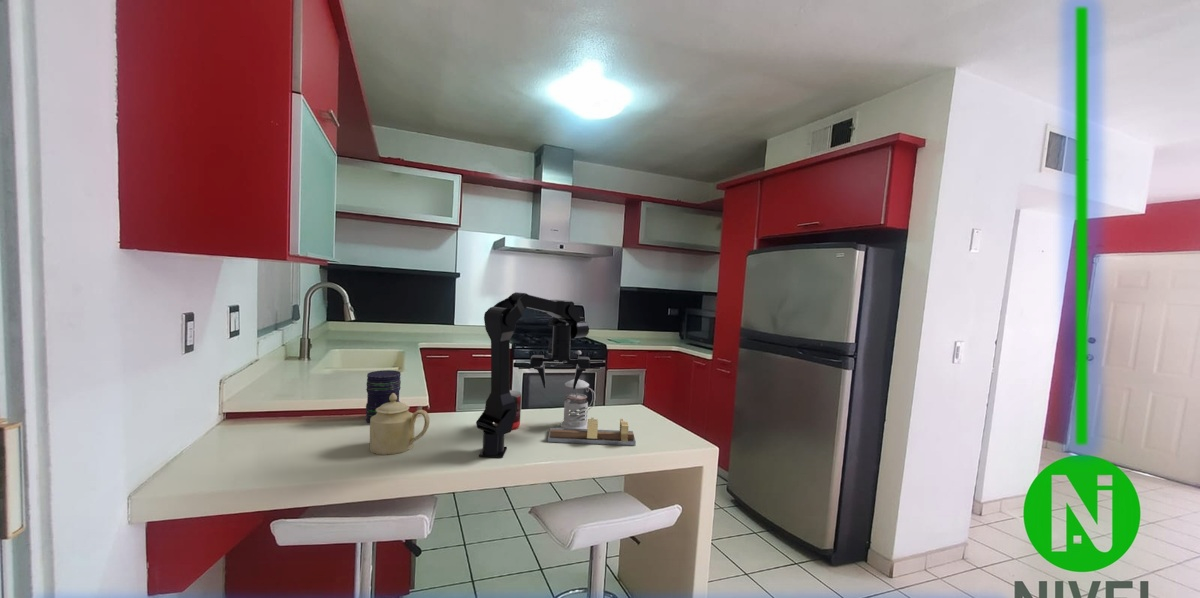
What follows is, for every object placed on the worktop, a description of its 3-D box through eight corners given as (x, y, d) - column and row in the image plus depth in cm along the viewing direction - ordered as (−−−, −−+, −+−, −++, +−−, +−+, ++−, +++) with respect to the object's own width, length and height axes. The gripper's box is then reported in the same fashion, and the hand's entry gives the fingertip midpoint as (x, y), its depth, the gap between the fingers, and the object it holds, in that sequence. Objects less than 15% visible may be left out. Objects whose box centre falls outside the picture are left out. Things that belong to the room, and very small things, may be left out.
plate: (635, 445, 131) (635, 441, 131) (547, 442, 130) (547, 437, 130) (632, 434, 140) (632, 430, 140) (550, 431, 139) (550, 427, 139)
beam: (634, 441, 131) (634, 426, 131) (549, 438, 130) (550, 422, 130) (631, 433, 138) (632, 418, 138) (551, 430, 137) (552, 415, 137)
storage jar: (359, 424, 137) (360, 376, 136) (373, 414, 147) (374, 369, 146) (392, 424, 138) (394, 377, 137) (404, 415, 148) (405, 370, 147)
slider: (597, 439, 131) (597, 423, 131) (586, 438, 131) (587, 423, 131) (596, 431, 138) (597, 416, 137) (586, 430, 138) (587, 416, 137)
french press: (555, 422, 148) (559, 348, 147) (586, 418, 154) (590, 347, 153) (567, 431, 140) (571, 353, 139) (599, 427, 145) (603, 352, 144)
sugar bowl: (428, 437, 130) (430, 386, 129) (428, 451, 119) (430, 396, 118) (372, 441, 124) (373, 388, 124) (366, 456, 114) (368, 399, 113)
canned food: (492, 424, 143) (493, 390, 143) (516, 422, 147) (517, 389, 146) (497, 432, 136) (498, 397, 136) (522, 429, 140) (524, 395, 139)
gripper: (589, 337, 148) (587, 383, 149) (533, 335, 147) (531, 381, 148) (591, 342, 137) (589, 392, 138) (530, 340, 136) (528, 390, 137)
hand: (559, 388), depth 140 cm, fingers open, 9 cm apart
